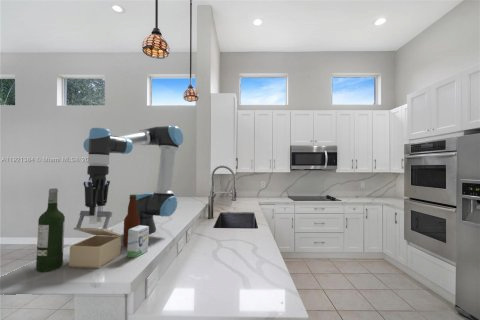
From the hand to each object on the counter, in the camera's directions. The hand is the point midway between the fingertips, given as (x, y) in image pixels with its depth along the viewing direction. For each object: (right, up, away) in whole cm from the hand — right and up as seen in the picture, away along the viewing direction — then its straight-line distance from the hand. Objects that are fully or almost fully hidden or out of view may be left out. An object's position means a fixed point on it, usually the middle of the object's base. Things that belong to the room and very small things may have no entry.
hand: (95, 222), depth 95 cm
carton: (0, -16, +1) cm, 16 cm away
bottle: (+5, -17, +21) cm, 27 cm away
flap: (0, -5, +2) cm, 5 cm away
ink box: (+13, -17, +9) cm, 23 cm away
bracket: (-11, -17, +18) cm, 27 cm away
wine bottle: (-14, -16, -6) cm, 22 cm away
